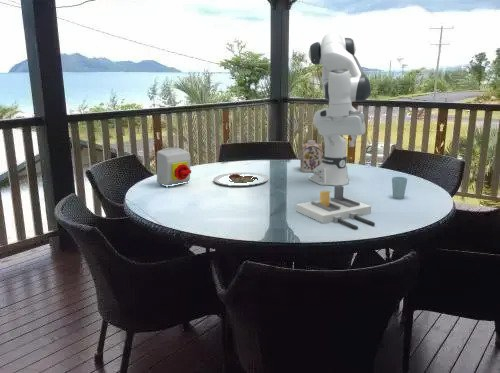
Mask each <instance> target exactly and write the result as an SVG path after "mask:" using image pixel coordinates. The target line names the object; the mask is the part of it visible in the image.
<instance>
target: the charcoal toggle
mask: <svg viewBox="0 0 500 373" xmlns="http://www.w3.org/2000/svg"><path fill="white" fill-rule="evenodd" d="M333 190H334V192H333V195H334V196H333V198H334V199H337V200H340V201H342V200H343V197H344V185H334V189H333Z"/></svg>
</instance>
